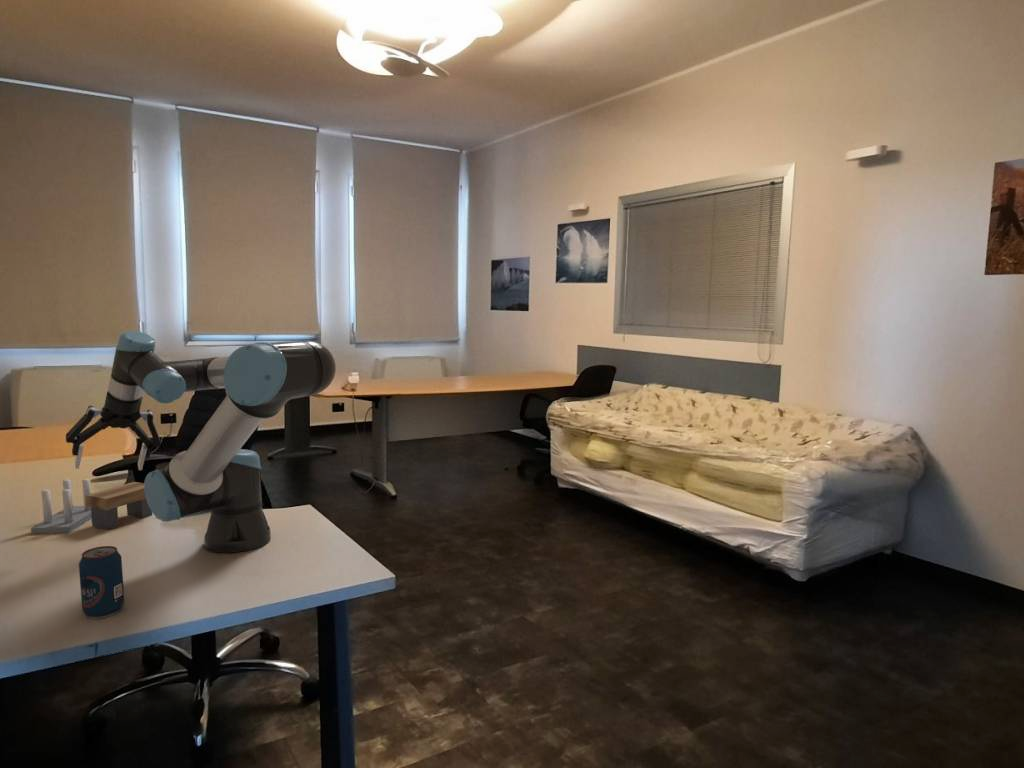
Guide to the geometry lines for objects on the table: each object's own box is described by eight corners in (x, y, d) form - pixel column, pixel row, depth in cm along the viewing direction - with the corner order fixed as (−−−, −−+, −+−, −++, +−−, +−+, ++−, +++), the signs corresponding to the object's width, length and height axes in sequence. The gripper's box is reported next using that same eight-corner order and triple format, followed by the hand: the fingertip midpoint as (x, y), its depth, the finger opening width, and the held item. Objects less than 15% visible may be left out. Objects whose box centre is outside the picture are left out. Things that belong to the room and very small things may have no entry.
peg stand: (103, 510, 189) (101, 475, 188) (69, 532, 171) (66, 494, 170) (69, 511, 188) (66, 476, 187) (31, 533, 170) (28, 495, 169)
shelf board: (155, 495, 185) (154, 485, 184) (107, 510, 172) (106, 498, 171) (135, 492, 188) (134, 481, 187) (86, 506, 175) (85, 495, 175)
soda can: (73, 618, 126) (68, 556, 124) (102, 602, 133) (97, 543, 131) (106, 621, 125) (101, 559, 123) (133, 604, 131) (129, 546, 130)
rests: (152, 515, 185) (151, 495, 184) (107, 529, 173) (106, 509, 173) (137, 512, 188) (136, 493, 187) (92, 526, 176) (90, 506, 175)
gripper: (179, 390, 170) (162, 459, 177) (62, 379, 155) (48, 455, 162) (184, 405, 165) (166, 476, 172) (63, 396, 149) (48, 474, 157)
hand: (109, 466), depth 167 cm, fingers open, 13 cm apart
